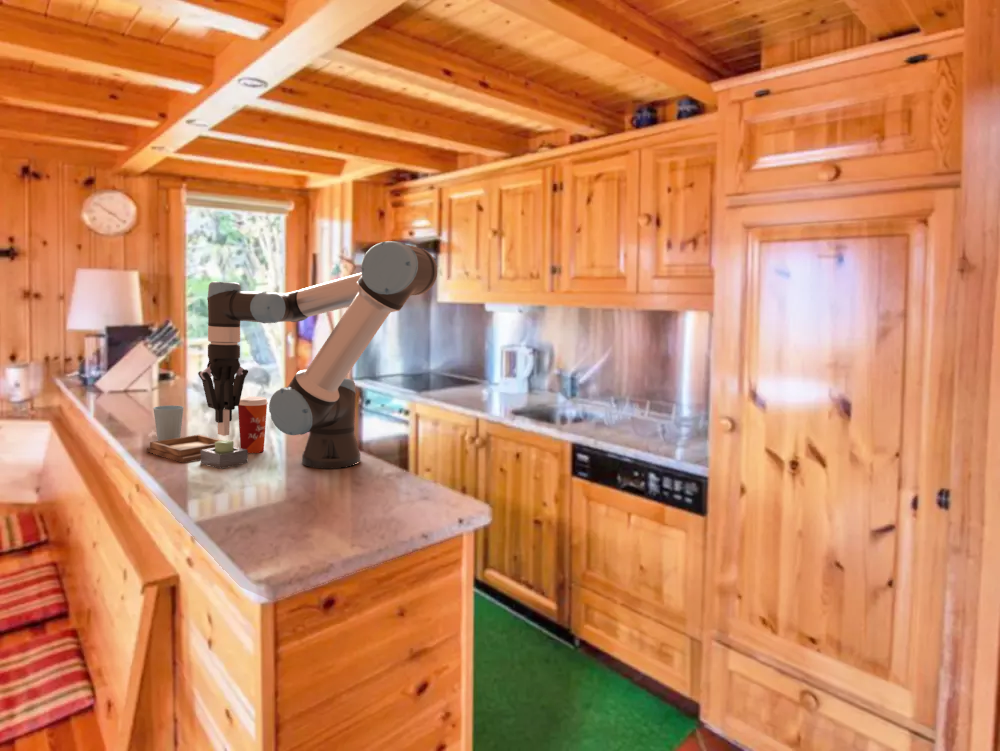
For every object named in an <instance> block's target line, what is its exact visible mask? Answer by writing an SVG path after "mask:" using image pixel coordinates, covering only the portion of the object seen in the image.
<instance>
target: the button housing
mask: <svg viewBox="0 0 1000 751" xmlns="http://www.w3.org/2000/svg"><path fill="white" fill-rule="evenodd" d="M248 454H249V453H248V450H247V449H243V448H241V447H240V446H234V451H230V452H225V453H219V452H215V447H214V448H209V449H203V450H201V460H200V464H202V465H206V466H209V467H213V468H215V469H219V470H220V469H225V468H231V467H235V466H239V465H244V464H248V462H249V461H248V457H249V456H248Z"/></svg>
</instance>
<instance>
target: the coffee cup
mask: <svg viewBox="0 0 1000 751" xmlns="http://www.w3.org/2000/svg"><path fill="white" fill-rule="evenodd" d="M268 405H269V402H268V399H267V398H266V397H264V396H253V395H252V396H241V398H240V403H239V405H238V406H237V409H238V410H237V411H238V427H239V429H238V430H239V443H240V446H239V447H240V448H243V449H247V450H248V454H259V453H262V452H264V450H265V439H266V425H267V423H266V422H267V409H268V408H267V407H268Z"/></svg>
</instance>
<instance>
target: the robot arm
mask: <svg viewBox="0 0 1000 751" xmlns="http://www.w3.org/2000/svg"><path fill="white" fill-rule="evenodd" d="M360 268H361V272H358V273H355V274H351V275H347V276H344V277H341V278H336V279H332V280H330V281H325V282H322V283H319V284H314V285H311V286H308V287H305V288H301V289H298V290H293V291H290V292H273V291H250V290H249V291H248V290H246V291H245V290H242V289H241V288H242V287H241V284H240V283H238V282H229V281H228V282H227V281H211V282H210V283H209V284H208V292H207V299H206V300H207V317H208V318H207V321H208V322H207V341H208V342H210V343H208V345H207V358H208V363H207V365H206V368H205V369H203V370H201V371H198V372H197V375H198V377H199V378H200V380H201V383H202V386H203V391H204V395H205V400H206V403H207V404H206V405H207V407H208V408H210V409H213V410H214V411H215V419H214V420H215V422H216V423H217V435H221V436H223V437H224V436H229V435H230V422H232V420H233V410H235V409H236V407H238V405H239V403H240V398H241V397H242V395H243V389H244V384H245V380H246V378H247V375H248V373H249V370H248V369H247V368H243V367H242V366H241V363H240V357H241V345H240V344H239V343H240V342H241V322H252V323H262V324H276V323H279V322H282V323H283V322H284V323H285V322H288V323H290V322H291V323H296V322H297V323H298V322H302V321H306V320H307V319H308V318H309V317H313V316H317V315H321V314H325V313H329V312H333V311H337V310H340V309H344V308H347V309H346V310H345V312H344V313H343V315H342V316H341V318H340V319H339V321H338V322H337V324H336V325H335V327H334V328H333V330H332V331H331V332H330V334H329V336H328V337H327V339H326V340H325V342H324V344H323V345H322V346H321V348H320V349H319V351H318V352H317V354H316V355H315V356H314V359H312V361H311V363H310V364H309V365H308V367H307V369H301V370H298V371H297V372H296V374H295V375H294V376H293V377H292V380H291V381H290V383H289V384H288V386H287V387H286V386H285V387H280V389H278V390H276V391H275V392H274V393H273V394H272V396H271V398H270V399H269V402H268V412H269V414H270V419H271V422H272V424H274V426H275V428H277V430H279V431H280V432H281V433H284V434H285V435H288V436H298V435H301V436H302V435H304V434H307V433H308V437H307V440H306V444H305V447H304V450H303V452H302V455H301V463H302V465H304V466H306V467H311V468H314V469H315V468H317V469H325V468H333V469H342V468H341V467H345V468H347V467H346V466H350V465H353V464H355V463H357V462H359V461H360V462H361V451H360V450H359V446H358V442H357V438H356V435H355V422H356V421H355V418H356V415H355V414H356V394H357V392H356V383H355V381H354V380H353V379H352V378H346V377H347V376H348V375H349V373H350V372H351V370H352V369H353V367H354V366H355V364H356V362H357V361H358V360H359V359H360V357H361V356H362V354H363V353H364V352H365V350H366V349H367V347H368V345H369V344H370V343H371V341H372V340H373V338H374V337H375V336H376V334H377V333H378V331H379V329H380V328H381V327H382V325H383V324H384V322H385V321H386V320H387V317H389V315H390V313H395V312H400V311H401V309H402V308H403V307H404V305H405V304H406V302H407V300H409V298H410V296H418V295H422V294H425V293H427V292H428V291H429V290H430V289H432V288H433V286H434V285H435V283H436V282H437V281H436V280H437V277H438V266H437V262H436V260H435V258H434V257H433V256H432V253H430V252H428V250H426V249H424V248H422V247H418V246H414V245H410V244H406V243H404V242H400V241H397V240H395V241H394V240H393V241H391V240H390V241H389V240H388V241H381V242H379V243H376V244H375V245H373V246H371V247H370V248H369V249H368V250H367V251H366V252H365V255H364V256H363V258H362V261H361V265H360ZM350 467H351V466H350Z"/></svg>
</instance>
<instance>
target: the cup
mask: <svg viewBox="0 0 1000 751" xmlns="http://www.w3.org/2000/svg"><path fill="white" fill-rule="evenodd" d="M152 409H153V410H152V411H153V416H154V424H155V432H156V436H157V441H161V440H167V439H173V438H179V437H181V434H182V433H181V432H182V426H183V425H182V424H183V416H184V415H183V414H184V406H182V405H159V406H155V407H153V408H152Z"/></svg>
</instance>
